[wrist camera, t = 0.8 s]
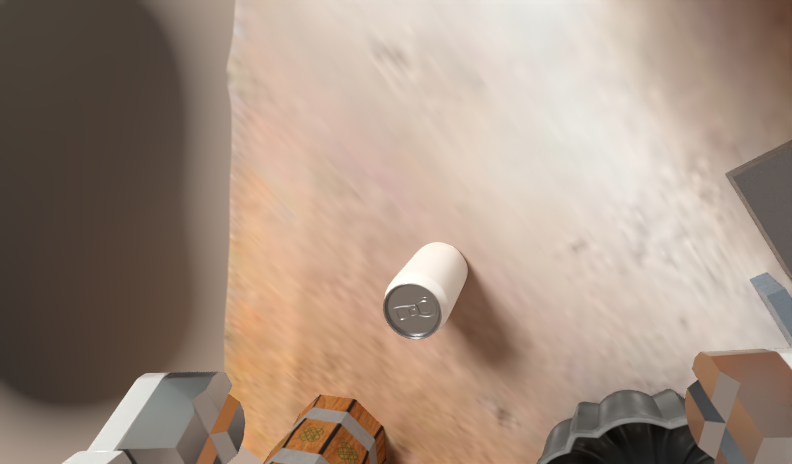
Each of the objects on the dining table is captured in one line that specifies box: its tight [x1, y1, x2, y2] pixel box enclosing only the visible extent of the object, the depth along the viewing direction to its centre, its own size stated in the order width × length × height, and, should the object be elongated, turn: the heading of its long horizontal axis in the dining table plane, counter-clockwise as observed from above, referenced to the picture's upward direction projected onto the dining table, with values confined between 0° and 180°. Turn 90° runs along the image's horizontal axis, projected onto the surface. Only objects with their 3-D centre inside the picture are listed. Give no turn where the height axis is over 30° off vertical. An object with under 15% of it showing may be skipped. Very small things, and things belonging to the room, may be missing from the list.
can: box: [383, 242, 468, 339], centre depth 50 cm, size 6×6×12 cm
